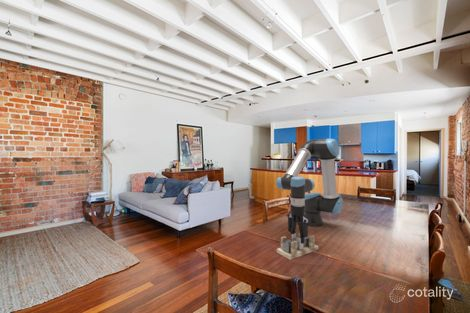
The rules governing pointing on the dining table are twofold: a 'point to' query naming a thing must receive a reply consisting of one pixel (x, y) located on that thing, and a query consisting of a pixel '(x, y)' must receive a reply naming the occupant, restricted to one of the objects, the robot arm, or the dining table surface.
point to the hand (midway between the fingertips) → (297, 246)
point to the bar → (287, 244)
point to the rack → (294, 251)
